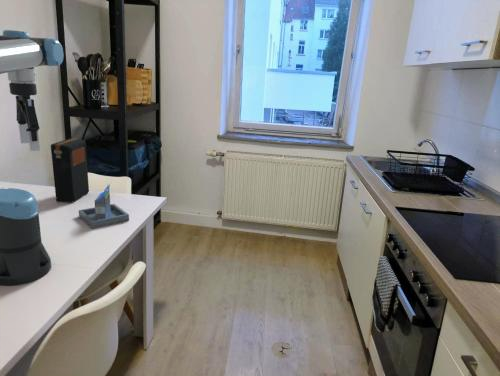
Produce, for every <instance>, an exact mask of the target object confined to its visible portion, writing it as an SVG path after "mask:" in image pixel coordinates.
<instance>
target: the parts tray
mask: <svg viewBox="0 0 500 376" xmlns="http://www.w3.org/2000/svg"><path fill="white" fill-rule="evenodd" d="M110 207H111V213H110V215H109V217H108V218H105V219H100V220H96V215H95V206H94V207H90V208H84V209H80V210H78V217H79V218H80V219H81V220H82V221H83V222H84V223H85V224H86V225H88V226H89V227H90V228H91V230H92V229H97V228H101V227H106V226H111V225H116V224H119V223H124V221H125V222H129V221H130V214H129V213H128V212H127V211H125V210H123V208H121V207H119V206H118V205H116V204H115V203H110Z"/></svg>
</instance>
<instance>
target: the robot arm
mask: <svg viewBox="0 0 500 376" xmlns="http://www.w3.org/2000/svg"><path fill="white" fill-rule="evenodd" d="M63 62H64V49H63V46H62V44H61V42H59V40H57V39H54V38H48V37H31V35H30V33H29V32H27V31H23V30H22V31H21V30H14V29H13V30H11V29H5V30H3V31H2V35H1V34H0V75H2V74H5V73H7V79H8V81H10V82H9V83H8V85H9V92H10V95H14V96H15V101H16V106H15V107H16V122H17V124H18V131H19V138H20V139H19V140H20V144H29V151H30V152H38V151H41V148H40V139H39V130H40V125H39V122H38V121H39V120H38V116H37V112H36V107H35V106H36V105H35V100H34V99H33V98H31V96H36V95H37V94H38V92H37V91H38V90H37V84H36V83H35V82H36V76H37V74H38V73H37V72H36V71H35V68H37V67H41V66H42V67H43V66H46V67H47V66H48V67H59V66H60V65H62V63H63ZM39 209H40V208H39V206H38V202H37V198H36V197H35V195H34V194H33V193H31V192H30V191H28V190H26V189H21V188H11V187H8V188H0V286H17V285H22V284H27V283H31V282H33V281H36V280H39V279H40V278H42V277H44V276H45V275H47V274H48V273H49V272H50V271H51V269H52V260H51V257H50V255H49V253H48V251H47V249H46V248H45V246H44V244H43V242H42V235H41V234H42V232H41V225H40V216H39V212H40V211H39Z"/></svg>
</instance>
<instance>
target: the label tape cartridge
mask: <svg viewBox="0 0 500 376" xmlns="http://www.w3.org/2000/svg"><path fill="white" fill-rule="evenodd" d="M110 185H111V183H108V185H107V186H106V187H105V189H104V191H101V192H100V193H99V194H98V196H97V197H96V198H95V200H94V207H95V215H96V220H100V219H105V218H108V217H109V215H110V213H111V207H110V204H111V197H110Z"/></svg>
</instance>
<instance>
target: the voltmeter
mask: <svg viewBox="0 0 500 376" xmlns="http://www.w3.org/2000/svg"><path fill="white" fill-rule="evenodd" d="M50 152H51V162H52V164H51V165H52V173H53V184H54V192H55V200H56V203H59V202H63V203H64V202H65V203H73V202H75V201H77V200H78V199H80V198H82V197H84V196H85V195H87V194H88V193H89V192H90V190H89V189H90V186H89V184H90V183H89V174H88V172H89V171H88V159H87V144H86V140H84V139H79V138H78V137H77V138H76V137H75V138H70V137H69V138H67V139H64V140H60V141H58V142H55V143H52V144H50Z"/></svg>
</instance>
